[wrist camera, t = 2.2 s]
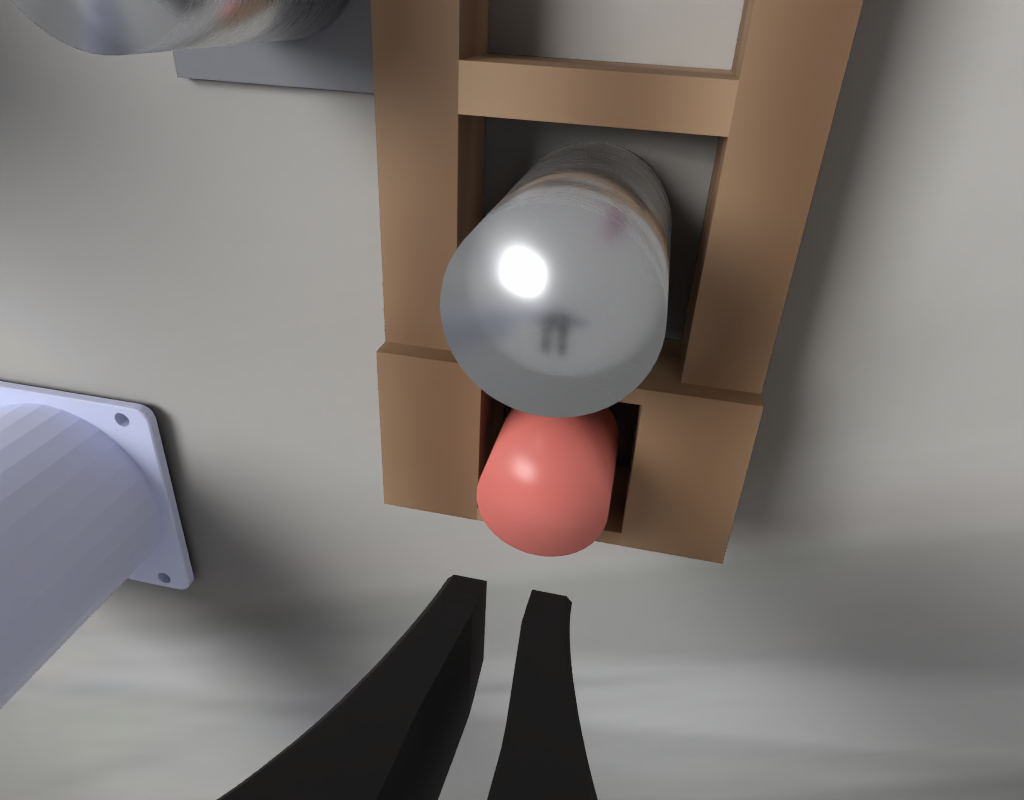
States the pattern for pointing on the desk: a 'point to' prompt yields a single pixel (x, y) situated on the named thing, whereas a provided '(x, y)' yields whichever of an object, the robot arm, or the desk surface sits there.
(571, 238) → the billet seated
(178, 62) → the mat
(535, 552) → the button
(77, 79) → the desk surface
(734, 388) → the wooden compartment tray
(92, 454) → the robot arm
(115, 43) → the cylinder
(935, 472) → the desk surface
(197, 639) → the desk surface
